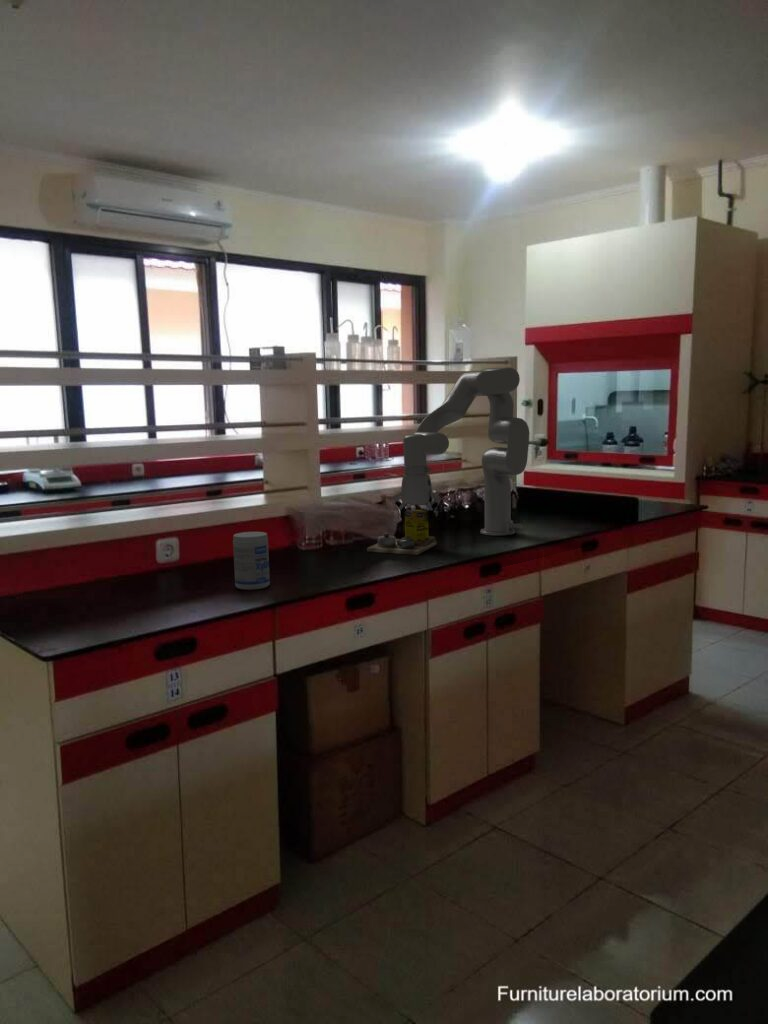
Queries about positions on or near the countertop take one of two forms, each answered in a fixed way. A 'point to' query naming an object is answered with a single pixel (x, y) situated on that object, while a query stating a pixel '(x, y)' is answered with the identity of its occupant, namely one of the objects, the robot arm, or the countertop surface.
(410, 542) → the seated puck
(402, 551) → the carrier board
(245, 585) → the supplement tub
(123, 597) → the countertop surface
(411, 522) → the supplement box
